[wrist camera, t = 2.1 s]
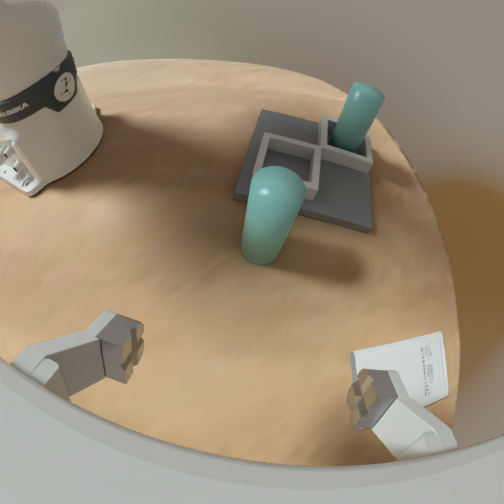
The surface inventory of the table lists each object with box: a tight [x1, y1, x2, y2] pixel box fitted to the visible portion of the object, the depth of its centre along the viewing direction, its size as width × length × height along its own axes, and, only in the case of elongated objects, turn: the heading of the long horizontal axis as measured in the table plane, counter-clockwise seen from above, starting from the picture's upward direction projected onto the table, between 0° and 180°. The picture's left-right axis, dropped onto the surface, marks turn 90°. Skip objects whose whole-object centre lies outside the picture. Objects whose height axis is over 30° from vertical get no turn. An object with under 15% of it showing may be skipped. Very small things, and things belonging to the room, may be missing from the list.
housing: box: [234, 82, 385, 233], centre depth 29 cm, size 16×16×11 cm
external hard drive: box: [350, 331, 449, 430], centre depth 24 cm, size 2×8×12 cm
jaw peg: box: [241, 166, 306, 265], centre depth 24 cm, size 4×4×10 cm
